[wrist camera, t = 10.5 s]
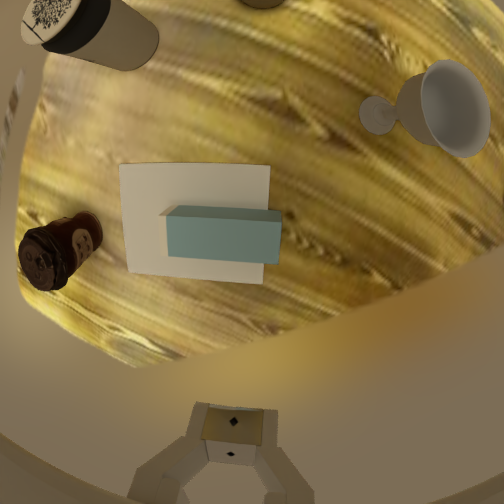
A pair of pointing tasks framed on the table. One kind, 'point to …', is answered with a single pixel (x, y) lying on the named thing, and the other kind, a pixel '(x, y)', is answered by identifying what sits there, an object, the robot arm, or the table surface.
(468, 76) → the chalice
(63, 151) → the table surface
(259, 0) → the squeeze bottle
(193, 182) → the mat
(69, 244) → the coffee cup
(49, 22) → the travel mug
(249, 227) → the long block
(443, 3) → the table surface
